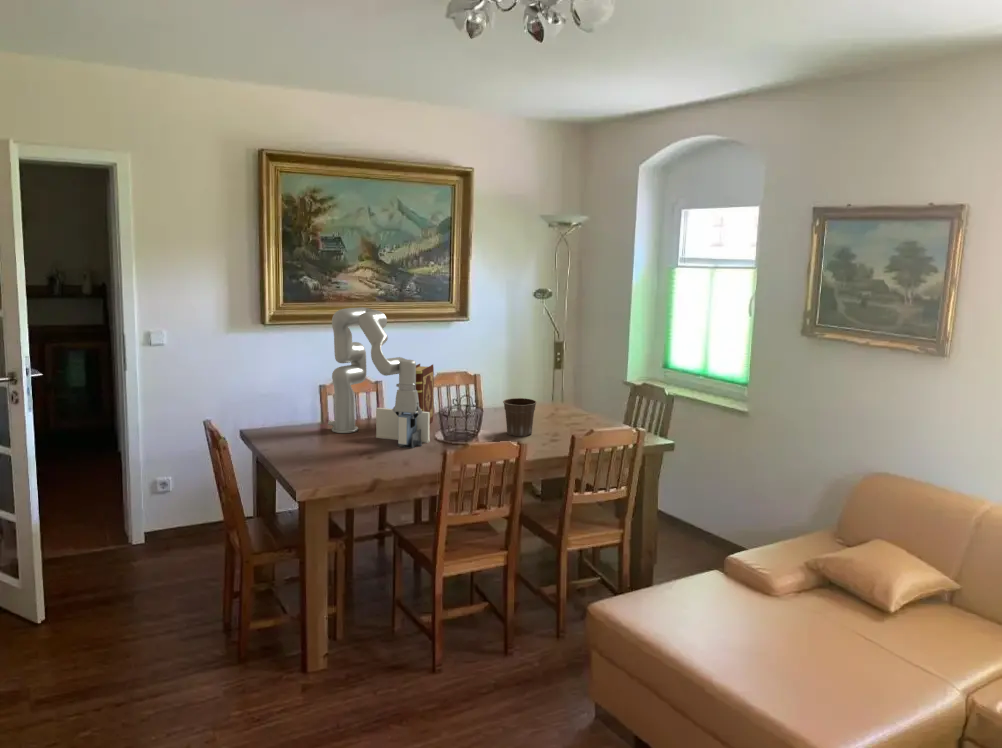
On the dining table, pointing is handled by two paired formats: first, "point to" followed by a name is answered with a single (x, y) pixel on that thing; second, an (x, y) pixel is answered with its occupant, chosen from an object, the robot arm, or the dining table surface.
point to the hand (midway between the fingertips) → (407, 426)
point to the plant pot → (519, 416)
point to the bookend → (414, 440)
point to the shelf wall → (389, 424)
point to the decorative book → (425, 388)
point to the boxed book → (405, 428)
